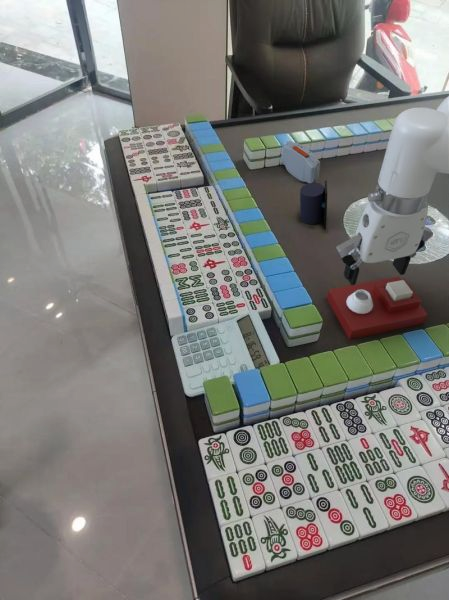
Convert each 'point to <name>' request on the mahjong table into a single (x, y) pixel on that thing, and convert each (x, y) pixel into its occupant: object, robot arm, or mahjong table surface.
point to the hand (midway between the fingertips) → (374, 274)
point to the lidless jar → (360, 302)
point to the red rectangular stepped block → (376, 309)
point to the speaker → (313, 203)
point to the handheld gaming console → (300, 162)
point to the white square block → (398, 290)
